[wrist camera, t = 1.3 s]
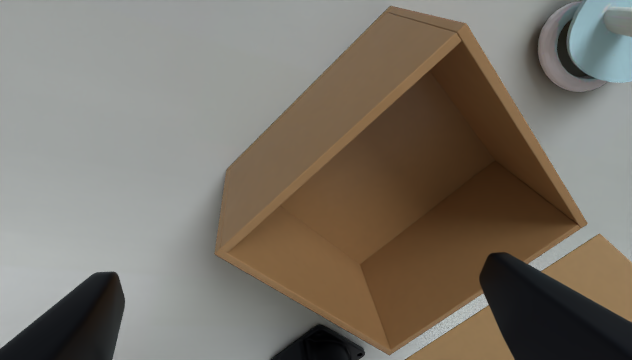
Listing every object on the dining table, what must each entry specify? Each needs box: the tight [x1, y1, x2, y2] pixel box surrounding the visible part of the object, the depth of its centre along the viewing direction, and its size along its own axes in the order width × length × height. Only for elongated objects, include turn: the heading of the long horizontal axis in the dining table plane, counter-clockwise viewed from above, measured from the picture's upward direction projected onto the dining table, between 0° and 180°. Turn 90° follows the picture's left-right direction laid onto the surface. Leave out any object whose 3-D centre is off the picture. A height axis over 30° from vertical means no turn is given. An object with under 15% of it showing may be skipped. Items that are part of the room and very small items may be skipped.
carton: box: [214, 6, 588, 355], centre depth 19 cm, size 13×13×7 cm
